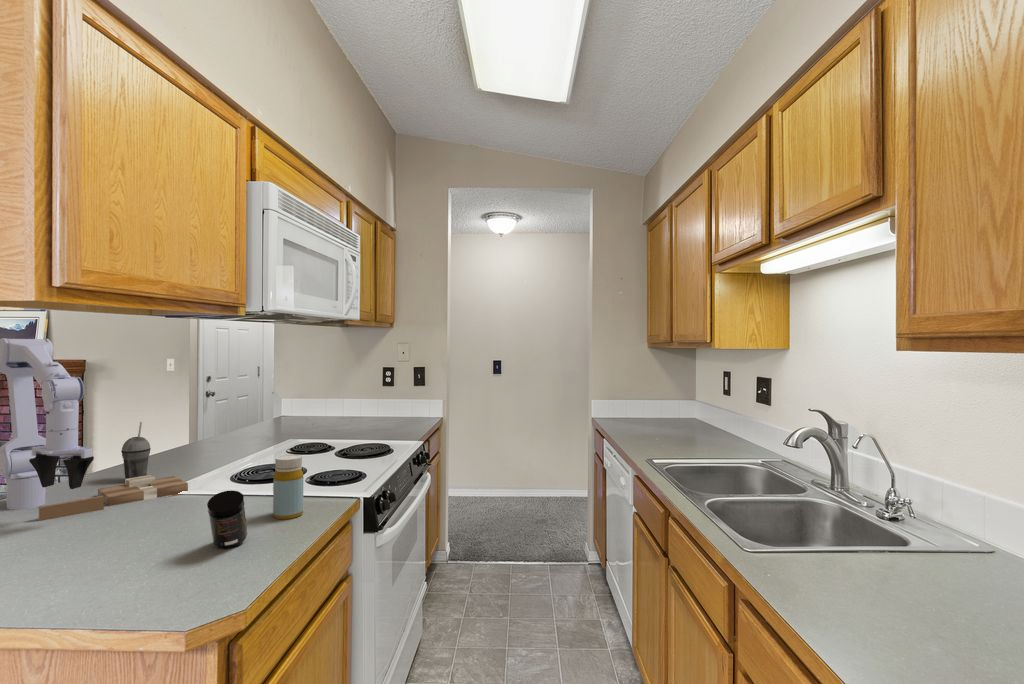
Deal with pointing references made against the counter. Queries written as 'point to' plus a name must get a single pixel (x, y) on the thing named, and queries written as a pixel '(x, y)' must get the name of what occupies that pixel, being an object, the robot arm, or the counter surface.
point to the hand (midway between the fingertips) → (61, 487)
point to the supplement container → (227, 519)
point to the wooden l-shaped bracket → (71, 508)
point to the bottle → (288, 487)
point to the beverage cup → (136, 456)
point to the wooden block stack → (142, 489)
